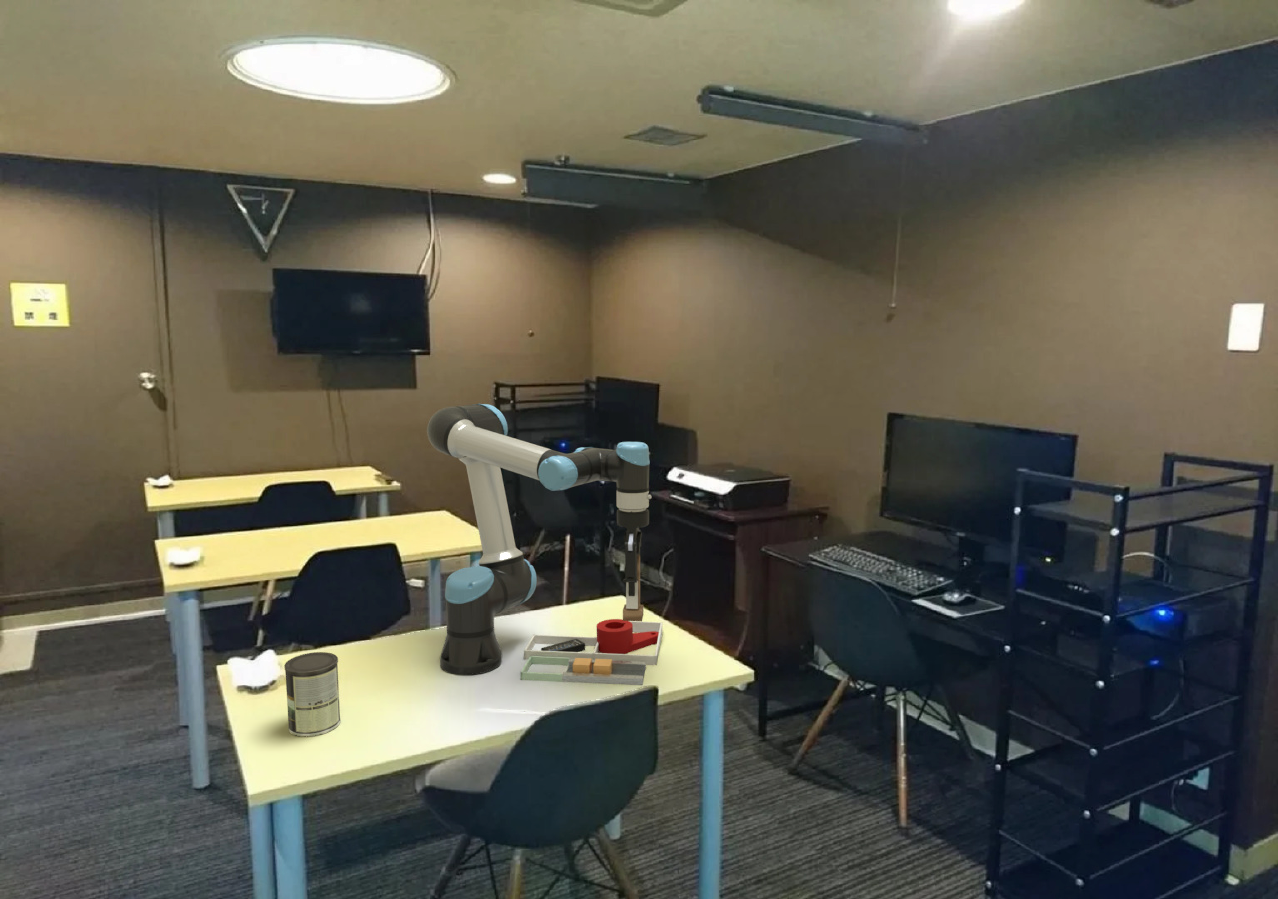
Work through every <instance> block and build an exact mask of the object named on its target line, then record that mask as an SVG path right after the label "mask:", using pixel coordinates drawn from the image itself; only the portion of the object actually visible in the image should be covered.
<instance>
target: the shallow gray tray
mask: <svg viewBox="0 0 1278 899" xmlns="http://www.w3.org/2000/svg"><path fill="white" fill-rule="evenodd" d="M574 660H575V659H569V661H568V665H567V666H568V668H567V670H566V672H565V671H563V673H562V674H563V675H562V682H563V683H565V682H566V683H582V684H583V683H585V684H587V683H588V684H606V685H609V684H610V685H611V684H612V685H630V686H631V685H634V686H643V683H644V680H645V675H646V669H647V665H646V662H639V661H616V660H612V673H611V674H593V665H594V663H595V660H592V671H591V673H573V663H574Z"/></svg>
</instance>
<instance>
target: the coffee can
mask: <svg viewBox="0 0 1278 899" xmlns="http://www.w3.org/2000/svg"><path fill="white" fill-rule="evenodd" d="M338 663H339V658H338V656H337V655H336V654H334V653H331V652H326V651H317V652H307V653H304V654H300V655H296V656H294V657H292V658H290V659H288V660H287V661H286V662H285V663H284V666H283V667H284V671H285V683H286V684H285V686H286V699H287V700H286V702H287V719H288V720H287V721H288V728H287V730H288V732H289V733H290V734H291V735H293V734H294V735H293V736H295V735H297V736H296V737H299V736H306V737H305V738H308V737H307V736H311V737H316V736H315V735H318V736H320V735H319V734H322V735H324V734H327V733H330V732H332V731H333V730H335V729H336V728H338V726H339V725H340V723H341V722H342V721H341V710H340V708H341V707H340V688H339V668H338Z"/></svg>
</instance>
